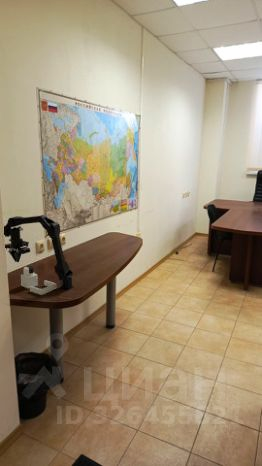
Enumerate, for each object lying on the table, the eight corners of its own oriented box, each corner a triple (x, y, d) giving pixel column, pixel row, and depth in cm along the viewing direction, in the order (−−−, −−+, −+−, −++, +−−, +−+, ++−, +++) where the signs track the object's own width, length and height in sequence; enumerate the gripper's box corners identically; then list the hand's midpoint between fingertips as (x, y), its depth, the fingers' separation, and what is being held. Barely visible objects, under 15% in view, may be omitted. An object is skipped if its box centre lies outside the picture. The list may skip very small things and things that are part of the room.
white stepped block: (31, 282, 195) (30, 264, 193) (38, 285, 191) (37, 266, 188) (21, 285, 190) (20, 267, 187) (27, 288, 185) (26, 269, 183)
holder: (56, 288, 187) (56, 283, 187) (41, 295, 177) (41, 290, 177) (45, 284, 192) (45, 280, 191) (30, 291, 182) (29, 286, 181)
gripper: (36, 237, 192) (37, 261, 195) (16, 232, 201) (17, 256, 204) (21, 240, 182) (23, 266, 186) (1, 236, 192) (2, 260, 195)
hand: (17, 261), depth 193 cm, fingers closed
